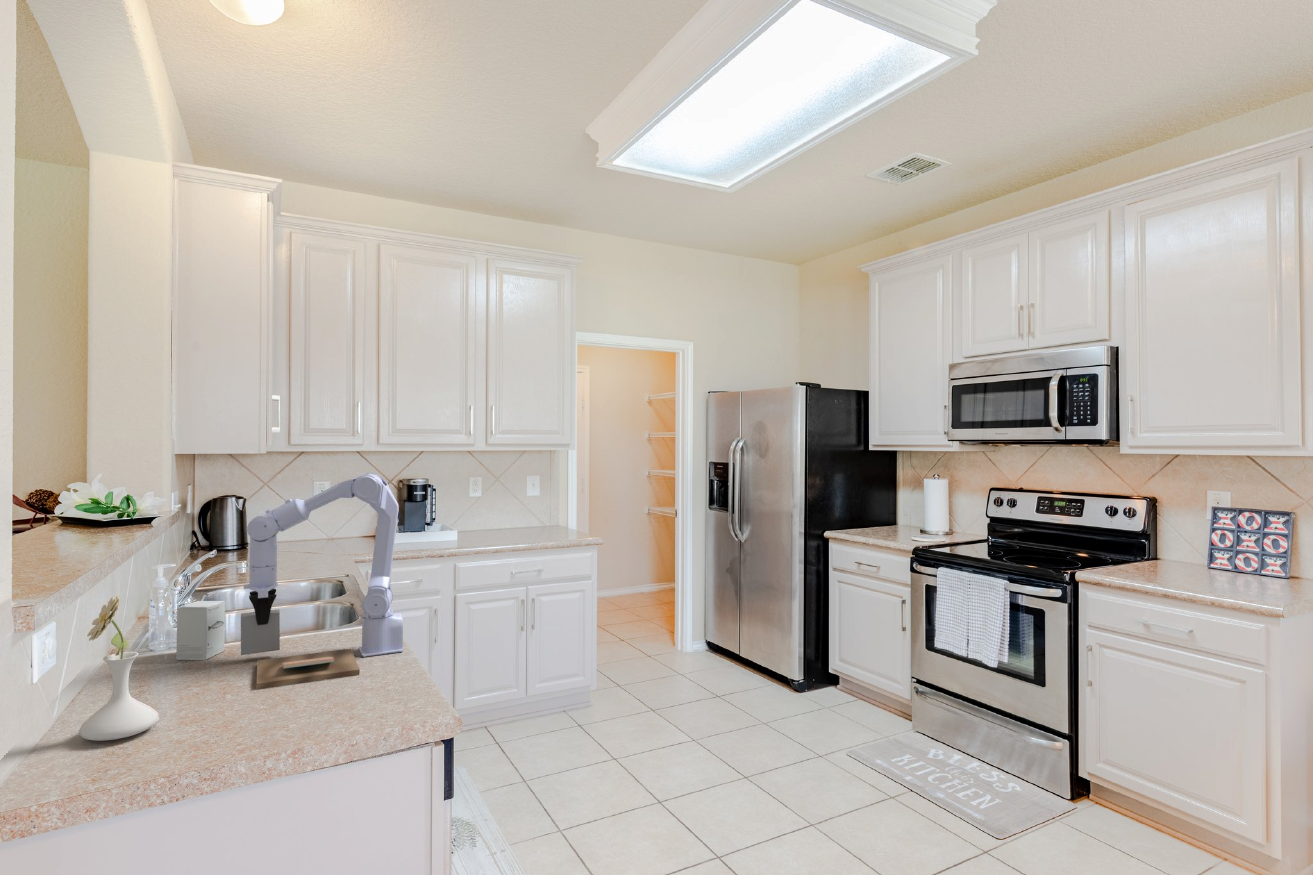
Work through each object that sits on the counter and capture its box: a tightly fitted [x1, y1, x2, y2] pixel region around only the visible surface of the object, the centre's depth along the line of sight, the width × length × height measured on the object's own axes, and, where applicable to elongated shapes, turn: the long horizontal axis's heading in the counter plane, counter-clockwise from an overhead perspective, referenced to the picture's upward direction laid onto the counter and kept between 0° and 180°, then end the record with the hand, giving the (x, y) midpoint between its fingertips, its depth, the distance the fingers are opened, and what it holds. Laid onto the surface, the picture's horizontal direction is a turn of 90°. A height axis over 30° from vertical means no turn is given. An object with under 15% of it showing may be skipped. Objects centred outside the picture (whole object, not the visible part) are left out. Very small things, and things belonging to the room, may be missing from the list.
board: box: [256, 648, 361, 690], centre depth 160 cm, size 20×18×1 cm
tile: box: [283, 657, 334, 669], centre depth 158 cm, size 10×8×1 cm
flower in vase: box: [78, 595, 160, 742], centre depth 124 cm, size 13×11×25 cm
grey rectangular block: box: [240, 609, 281, 656], centre depth 168 cm, size 8×4×9 cm, turn 119°
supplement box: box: [175, 600, 226, 661], centre depth 171 cm, size 7×7×13 cm
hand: (262, 622), depth 168 cm, fingers closed on grey rectangular block, 3 cm apart
